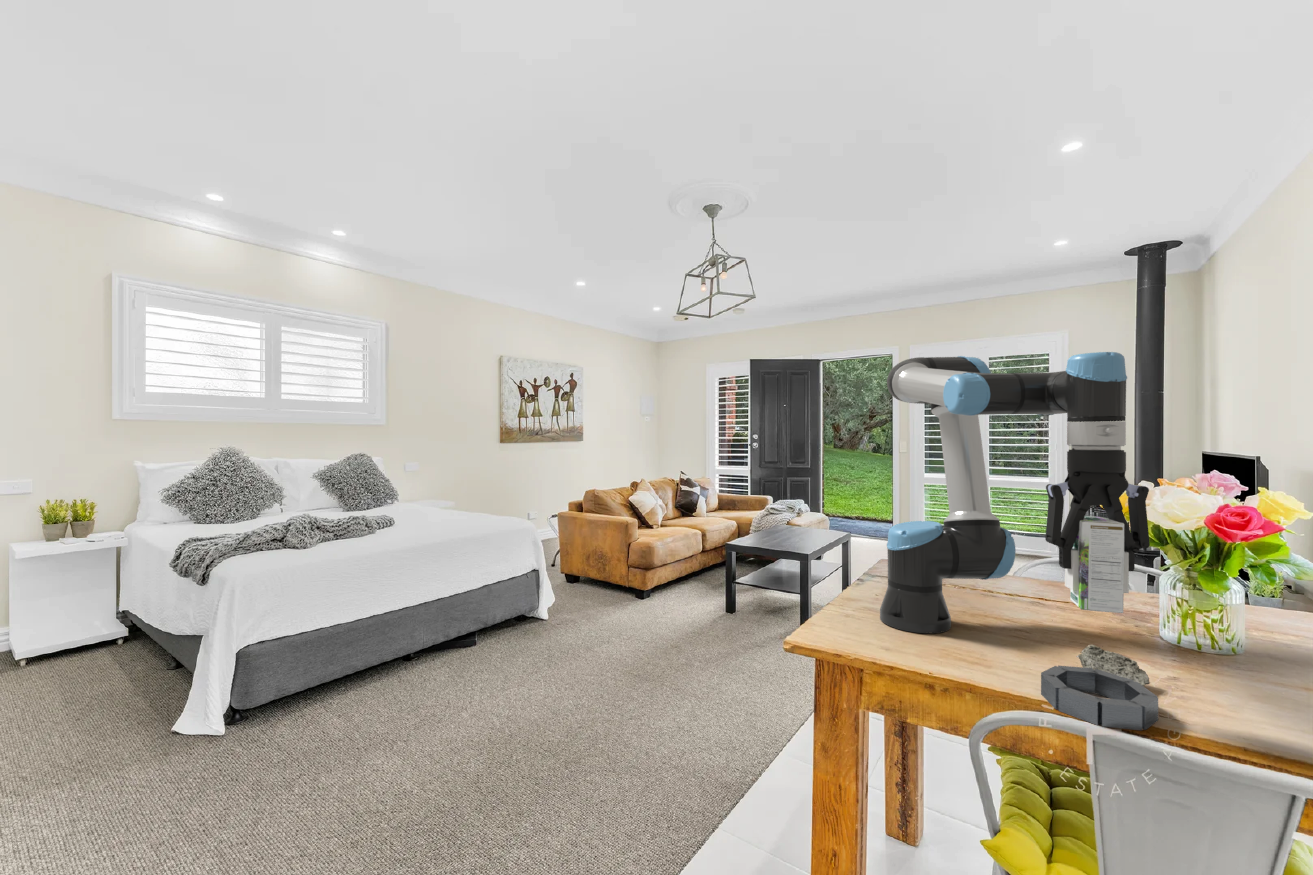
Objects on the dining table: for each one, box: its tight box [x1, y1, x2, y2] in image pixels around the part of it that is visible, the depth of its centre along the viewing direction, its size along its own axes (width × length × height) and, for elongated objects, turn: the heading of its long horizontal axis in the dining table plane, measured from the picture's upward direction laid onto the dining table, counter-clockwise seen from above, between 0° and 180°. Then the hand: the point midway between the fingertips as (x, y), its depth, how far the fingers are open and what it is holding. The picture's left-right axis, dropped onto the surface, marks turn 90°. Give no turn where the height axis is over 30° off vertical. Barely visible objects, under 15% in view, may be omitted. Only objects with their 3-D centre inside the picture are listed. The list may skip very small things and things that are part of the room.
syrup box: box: [1069, 515, 1125, 614], centre depth 90 cm, size 6×6×14 cm
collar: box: [1040, 665, 1159, 731], centre depth 90 cm, size 14×14×4 cm
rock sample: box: [1076, 644, 1151, 687], centre depth 97 cm, size 10×8×9 cm
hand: (1096, 589), depth 90 cm, fingers closed on syrup box, 6 cm apart
